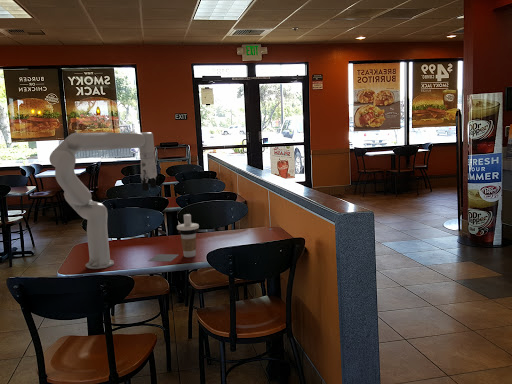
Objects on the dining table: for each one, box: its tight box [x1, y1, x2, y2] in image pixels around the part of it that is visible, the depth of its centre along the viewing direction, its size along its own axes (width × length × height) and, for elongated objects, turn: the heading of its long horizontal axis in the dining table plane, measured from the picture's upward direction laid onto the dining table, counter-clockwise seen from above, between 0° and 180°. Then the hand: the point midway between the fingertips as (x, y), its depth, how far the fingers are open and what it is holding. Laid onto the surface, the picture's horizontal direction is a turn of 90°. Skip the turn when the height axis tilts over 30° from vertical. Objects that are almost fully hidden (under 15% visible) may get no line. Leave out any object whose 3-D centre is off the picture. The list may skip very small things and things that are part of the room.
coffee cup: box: [179, 229, 197, 258], centre depth 241 cm, size 8×8×15 cm
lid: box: [176, 213, 200, 231], centre depth 240 cm, size 11×11×7 cm
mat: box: [148, 253, 179, 262], centre depth 240 cm, size 12×12×1 cm
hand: (149, 188), depth 247 cm, fingers open, 9 cm apart
